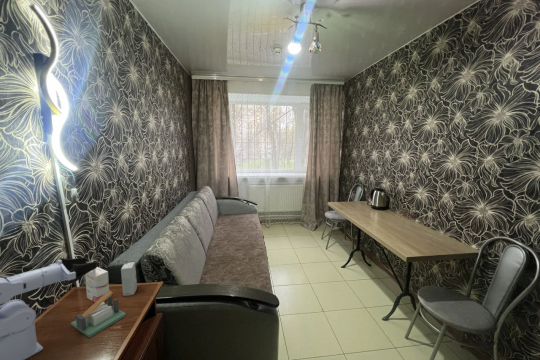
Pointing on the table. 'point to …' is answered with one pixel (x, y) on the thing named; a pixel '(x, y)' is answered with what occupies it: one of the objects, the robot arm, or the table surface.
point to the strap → (96, 304)
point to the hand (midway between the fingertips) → (90, 262)
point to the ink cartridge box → (96, 283)
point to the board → (101, 325)
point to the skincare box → (129, 278)
